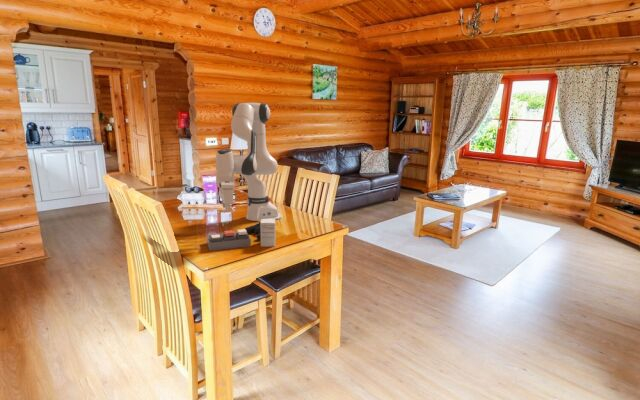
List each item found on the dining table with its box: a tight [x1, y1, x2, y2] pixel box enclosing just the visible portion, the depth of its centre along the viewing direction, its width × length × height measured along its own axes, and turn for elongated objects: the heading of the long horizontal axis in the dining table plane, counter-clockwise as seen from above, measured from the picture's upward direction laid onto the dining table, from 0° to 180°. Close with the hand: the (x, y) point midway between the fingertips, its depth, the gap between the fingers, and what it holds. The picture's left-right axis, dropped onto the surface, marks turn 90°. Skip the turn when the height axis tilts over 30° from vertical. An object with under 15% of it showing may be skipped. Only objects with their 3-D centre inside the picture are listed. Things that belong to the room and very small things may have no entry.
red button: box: [223, 229, 235, 236], centre depth 185 cm, size 4×4×2 cm
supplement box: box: [260, 219, 276, 248], centre depth 189 cm, size 7×7×13 cm
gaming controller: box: [244, 222, 261, 241], centre depth 202 cm, size 17×6×10 cm
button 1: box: [210, 234, 220, 239], centre depth 183 cm, size 4×4×2 cm
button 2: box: [236, 228, 247, 235], centre depth 187 cm, size 4×4×2 cm
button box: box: [206, 231, 252, 252], centre depth 188 cm, size 20×12×6 cm, turn 113°
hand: (225, 209), depth 186 cm, fingers open, 8 cm apart
